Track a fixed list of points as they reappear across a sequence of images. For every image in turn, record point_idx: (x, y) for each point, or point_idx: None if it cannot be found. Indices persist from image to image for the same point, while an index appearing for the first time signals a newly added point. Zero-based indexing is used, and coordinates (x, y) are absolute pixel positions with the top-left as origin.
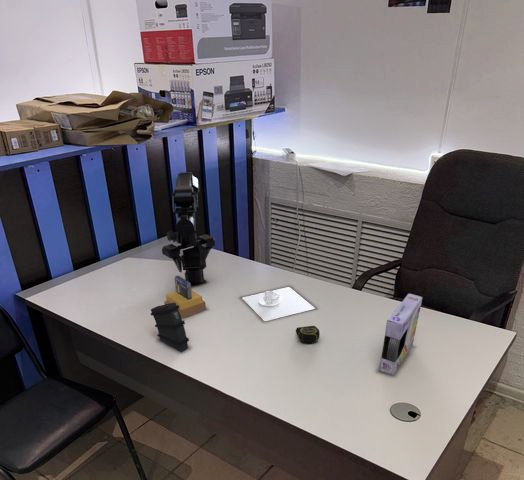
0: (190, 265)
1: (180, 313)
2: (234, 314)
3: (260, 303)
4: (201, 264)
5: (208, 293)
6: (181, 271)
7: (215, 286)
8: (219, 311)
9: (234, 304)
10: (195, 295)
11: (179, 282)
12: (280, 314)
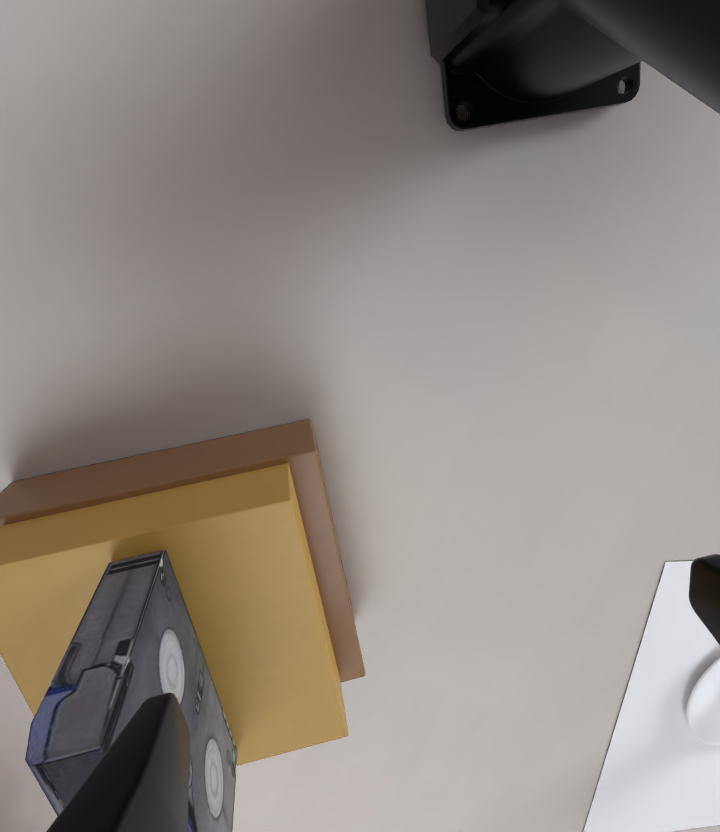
0: (610, 35)
1: None
2: (488, 739)
3: (695, 701)
4: (702, 585)
5: (506, 369)
6: (182, 771)
7: (638, 257)
8: (426, 677)
9: (565, 628)
10: (295, 705)
11: None
12: (688, 810)
